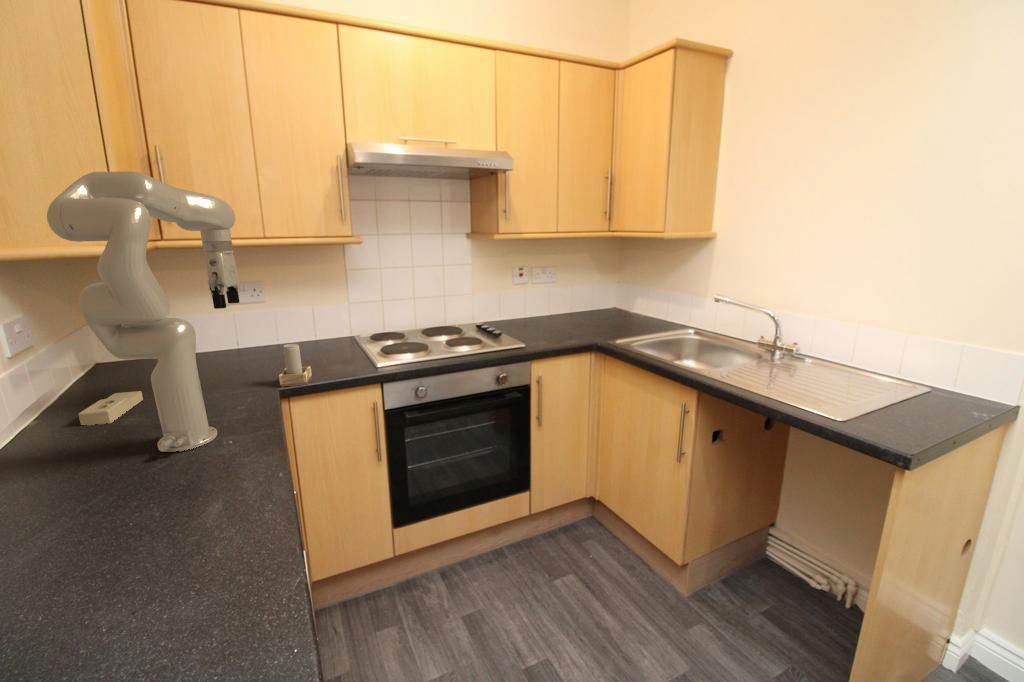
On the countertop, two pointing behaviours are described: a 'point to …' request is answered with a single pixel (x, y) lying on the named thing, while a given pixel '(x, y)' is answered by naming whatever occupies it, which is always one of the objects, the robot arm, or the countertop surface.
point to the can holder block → (295, 377)
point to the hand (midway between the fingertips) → (227, 305)
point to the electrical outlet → (109, 408)
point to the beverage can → (292, 359)
